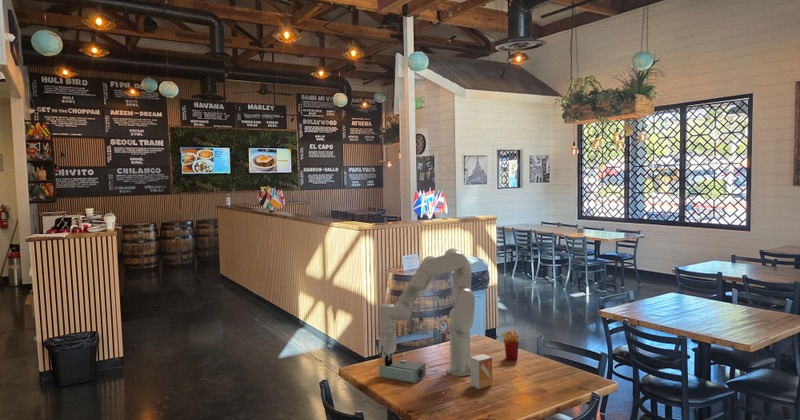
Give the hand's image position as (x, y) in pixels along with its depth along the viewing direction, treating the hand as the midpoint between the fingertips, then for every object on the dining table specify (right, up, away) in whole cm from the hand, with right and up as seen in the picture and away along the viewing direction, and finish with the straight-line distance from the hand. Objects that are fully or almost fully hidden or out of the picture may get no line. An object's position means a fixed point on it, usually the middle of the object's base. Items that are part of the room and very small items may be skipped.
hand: (388, 367), depth 252 cm
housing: (+9, -4, -3) cm, 10 cm away
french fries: (+62, -2, +19) cm, 65 cm away
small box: (+42, -4, -15) cm, 45 cm away
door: (+4, -4, -7) cm, 9 cm away
